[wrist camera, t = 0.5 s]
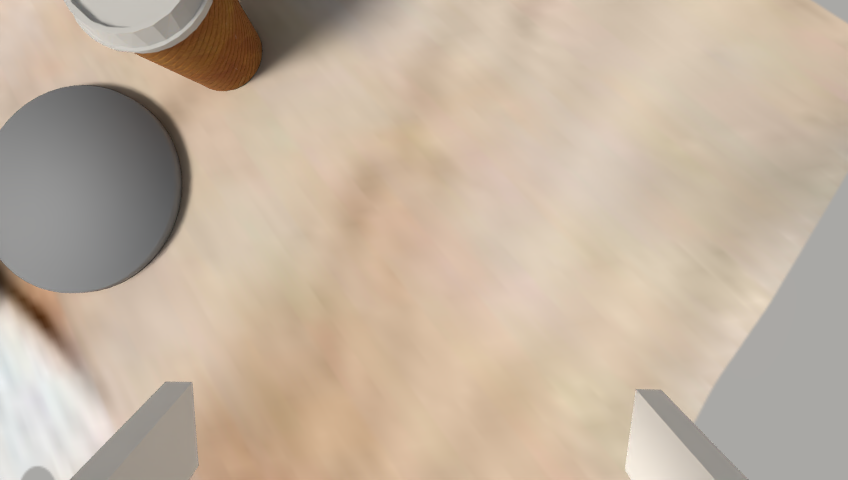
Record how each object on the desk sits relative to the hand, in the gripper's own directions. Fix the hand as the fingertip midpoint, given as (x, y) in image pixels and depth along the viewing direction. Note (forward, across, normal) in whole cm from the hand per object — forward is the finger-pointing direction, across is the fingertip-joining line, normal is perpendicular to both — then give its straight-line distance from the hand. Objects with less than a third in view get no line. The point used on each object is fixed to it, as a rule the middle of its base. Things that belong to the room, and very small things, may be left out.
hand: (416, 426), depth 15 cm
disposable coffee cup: (+30, -16, +14) cm, 37 cm away
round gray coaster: (+28, -27, +3) cm, 40 cm away
